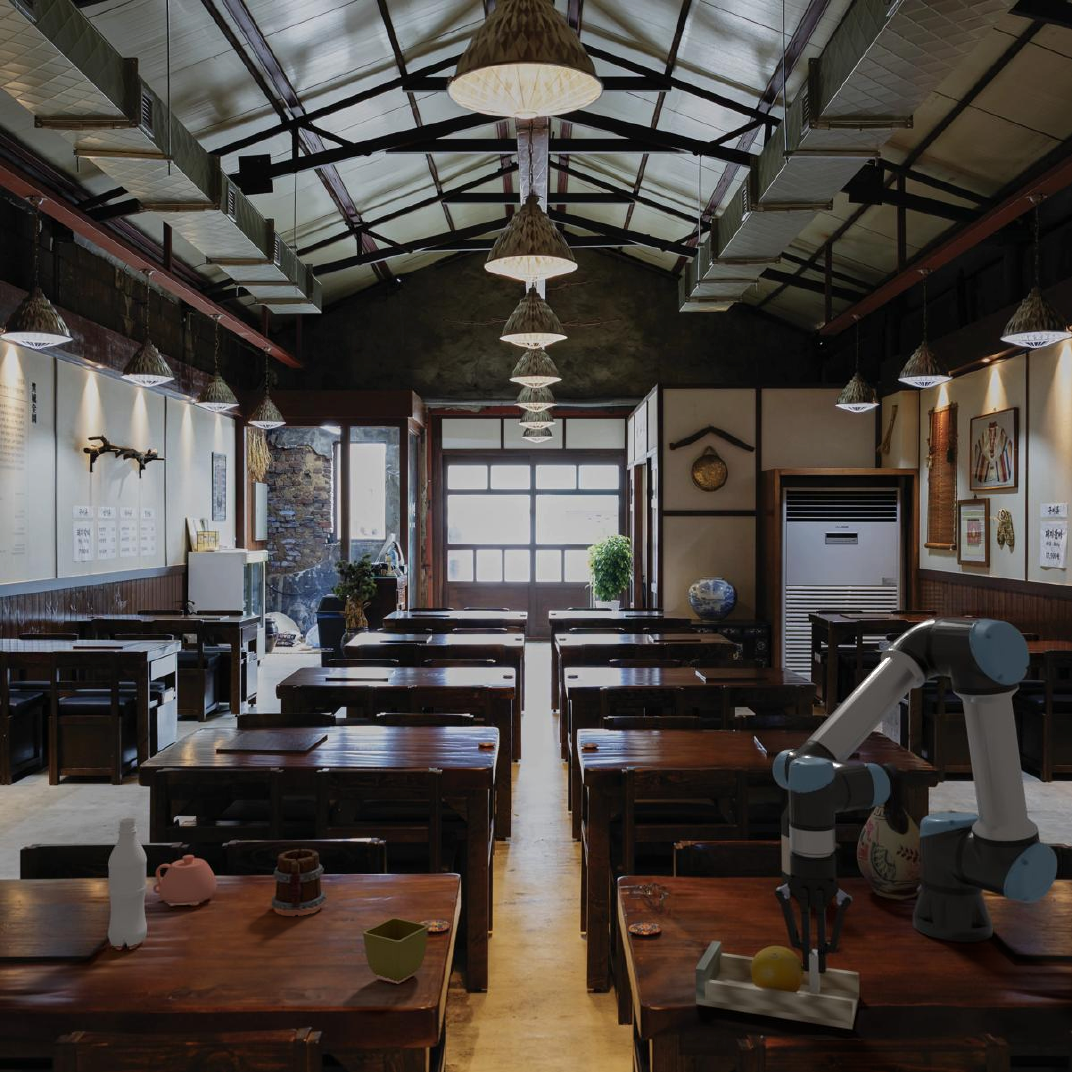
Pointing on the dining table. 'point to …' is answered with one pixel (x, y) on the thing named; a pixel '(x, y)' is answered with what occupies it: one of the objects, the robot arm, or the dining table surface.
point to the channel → (775, 991)
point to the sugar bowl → (186, 881)
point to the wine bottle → (785, 846)
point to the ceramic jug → (891, 845)
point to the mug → (298, 880)
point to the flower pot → (396, 948)
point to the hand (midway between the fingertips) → (814, 990)
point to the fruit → (777, 969)
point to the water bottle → (127, 887)
